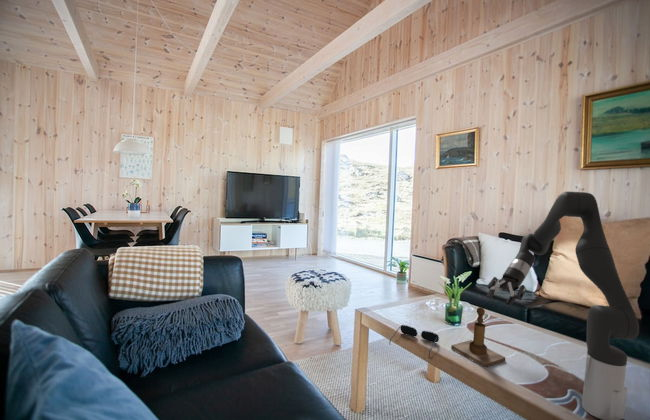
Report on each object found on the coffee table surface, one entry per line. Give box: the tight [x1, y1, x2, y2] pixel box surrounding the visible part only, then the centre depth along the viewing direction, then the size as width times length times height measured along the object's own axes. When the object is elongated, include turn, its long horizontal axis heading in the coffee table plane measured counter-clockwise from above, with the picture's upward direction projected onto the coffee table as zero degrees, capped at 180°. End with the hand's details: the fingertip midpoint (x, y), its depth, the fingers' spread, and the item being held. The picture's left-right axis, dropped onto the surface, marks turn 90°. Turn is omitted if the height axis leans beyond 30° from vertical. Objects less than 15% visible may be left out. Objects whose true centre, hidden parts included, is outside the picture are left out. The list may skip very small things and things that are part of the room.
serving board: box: [450, 339, 506, 368], centre depth 135 cm, size 16×12×2 cm
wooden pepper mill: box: [469, 307, 488, 355], centre depth 135 cm, size 7×6×18 cm
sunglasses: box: [388, 324, 440, 358], centre depth 142 cm, size 17×15×5 cm
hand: (497, 301), depth 139 cm, fingers open, 8 cm apart
